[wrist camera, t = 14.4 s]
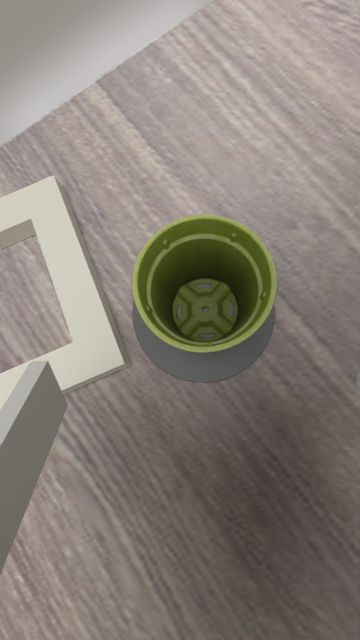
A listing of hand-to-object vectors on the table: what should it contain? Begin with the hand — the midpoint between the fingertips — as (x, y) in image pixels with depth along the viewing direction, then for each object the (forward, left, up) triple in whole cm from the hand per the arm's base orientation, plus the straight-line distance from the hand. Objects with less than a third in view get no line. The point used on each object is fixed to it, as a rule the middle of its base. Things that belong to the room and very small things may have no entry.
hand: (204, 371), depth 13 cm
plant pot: (-2, -6, -15) cm, 16 cm away
